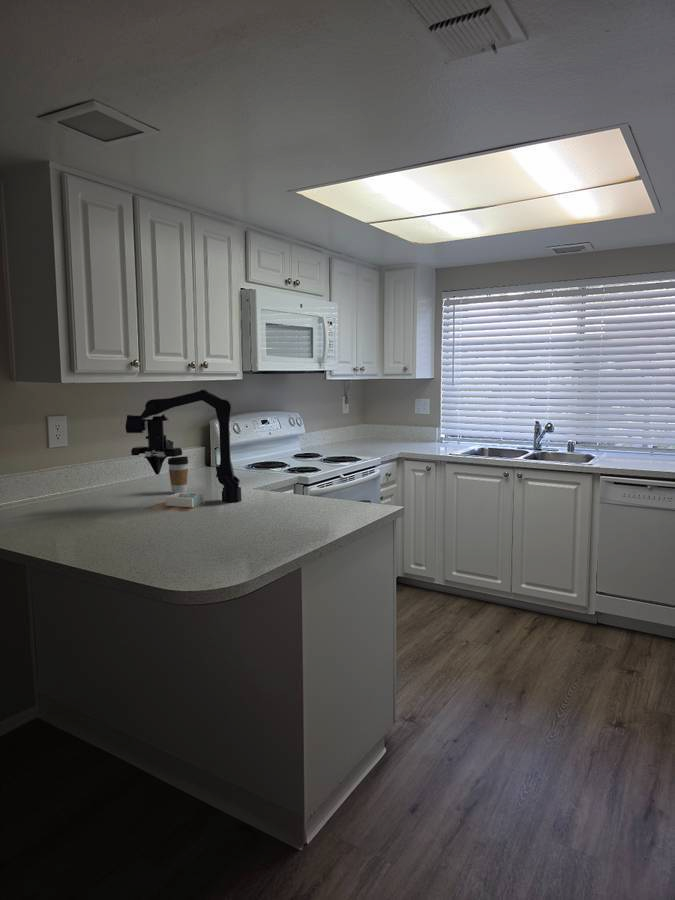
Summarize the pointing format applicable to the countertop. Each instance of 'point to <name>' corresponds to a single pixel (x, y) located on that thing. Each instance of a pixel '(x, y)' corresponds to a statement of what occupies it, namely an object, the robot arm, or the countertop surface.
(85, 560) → the countertop surface
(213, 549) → the countertop surface
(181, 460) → the coffee cup
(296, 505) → the countertop surface
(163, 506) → the board
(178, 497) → the white bent bar
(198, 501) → the teal hollow cube
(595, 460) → the countertop surface
